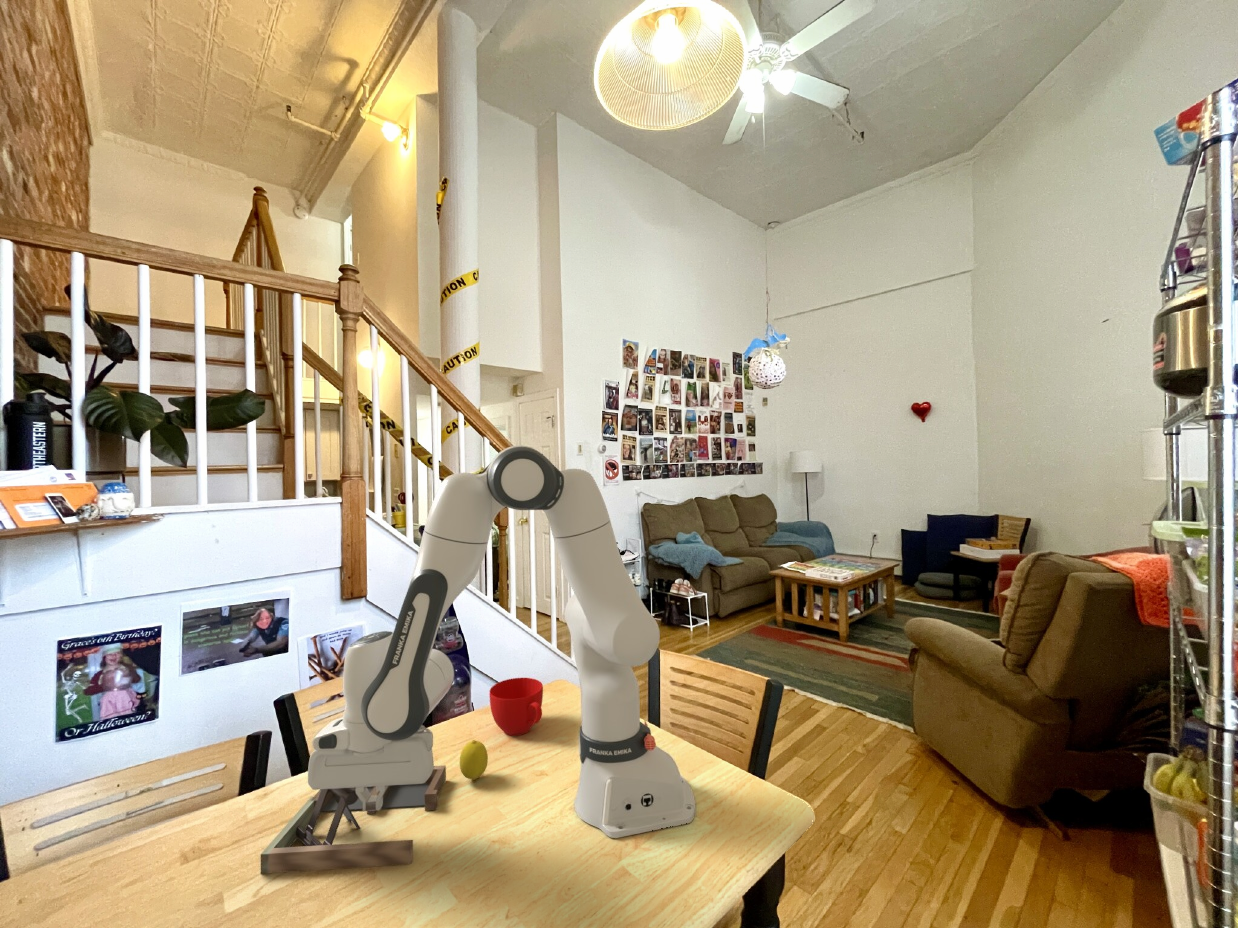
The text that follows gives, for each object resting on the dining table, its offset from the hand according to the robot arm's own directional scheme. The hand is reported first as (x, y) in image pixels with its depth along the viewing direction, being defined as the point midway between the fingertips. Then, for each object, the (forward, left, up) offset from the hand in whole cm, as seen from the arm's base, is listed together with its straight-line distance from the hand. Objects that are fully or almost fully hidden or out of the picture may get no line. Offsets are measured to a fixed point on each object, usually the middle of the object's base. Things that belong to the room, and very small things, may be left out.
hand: (372, 808), depth 88 cm
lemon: (-14, -15, -5) cm, 21 cm away
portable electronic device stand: (+7, -1, -5) cm, 9 cm away
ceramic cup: (-21, -34, -5) cm, 40 cm away
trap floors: (+3, -11, -5) cm, 12 cm away
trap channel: (+3, -4, -5) cm, 7 cm away
